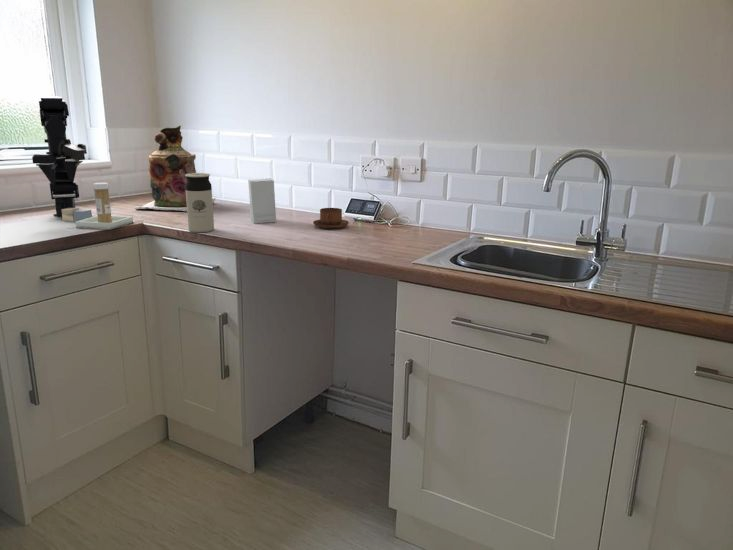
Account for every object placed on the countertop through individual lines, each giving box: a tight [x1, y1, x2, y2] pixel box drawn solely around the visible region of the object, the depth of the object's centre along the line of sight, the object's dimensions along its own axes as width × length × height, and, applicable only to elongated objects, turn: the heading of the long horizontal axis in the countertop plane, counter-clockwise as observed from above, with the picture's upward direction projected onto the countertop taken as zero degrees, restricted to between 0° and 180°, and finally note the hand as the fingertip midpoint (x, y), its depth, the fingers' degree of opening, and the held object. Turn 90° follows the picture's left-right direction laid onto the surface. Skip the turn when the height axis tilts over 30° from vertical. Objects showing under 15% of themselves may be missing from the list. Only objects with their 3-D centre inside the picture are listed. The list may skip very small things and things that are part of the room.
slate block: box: [73, 208, 93, 223], centre depth 195 cm, size 4×4×4 cm
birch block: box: [61, 207, 80, 222], centre depth 198 cm, size 4×4×4 cm
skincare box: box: [247, 178, 277, 225], centre depth 197 cm, size 8×6×15 cm
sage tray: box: [74, 215, 134, 230], centre depth 190 cm, size 13×13×2 cm
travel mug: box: [185, 172, 215, 233], centre depth 181 cm, size 8×8×18 cm
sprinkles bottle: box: [92, 181, 112, 223], centre depth 188 cm, size 5×5×14 cm
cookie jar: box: [133, 124, 216, 212], centre depth 224 cm, size 25×25×32 cm
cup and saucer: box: [312, 207, 350, 230], centre depth 190 cm, size 12×12×6 cm
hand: (63, 183), depth 193 cm, fingers open, 9 cm apart
